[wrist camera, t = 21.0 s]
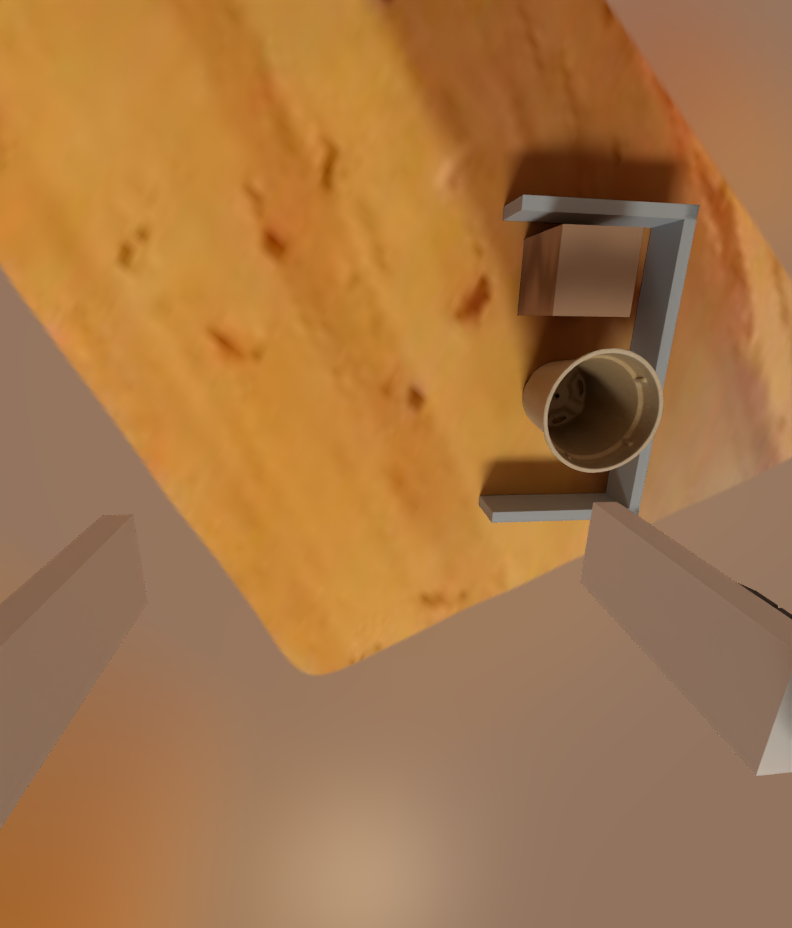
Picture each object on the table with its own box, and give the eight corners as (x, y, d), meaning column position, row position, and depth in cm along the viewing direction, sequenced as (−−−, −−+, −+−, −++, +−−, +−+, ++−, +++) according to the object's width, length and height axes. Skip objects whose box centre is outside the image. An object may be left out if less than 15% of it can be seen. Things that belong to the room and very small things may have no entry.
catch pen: (504, 206, 38) (523, 194, 34) (664, 215, 39) (699, 205, 36) (478, 505, 46) (491, 522, 42) (613, 501, 47) (637, 518, 43)
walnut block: (524, 239, 39) (562, 224, 32) (592, 241, 39) (644, 227, 33) (517, 315, 40) (552, 315, 34) (582, 316, 41) (629, 317, 35)
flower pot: (484, 389, 42) (519, 407, 34) (567, 318, 41) (625, 320, 33) (540, 462, 45) (585, 496, 37) (620, 398, 44) (684, 418, 36)
